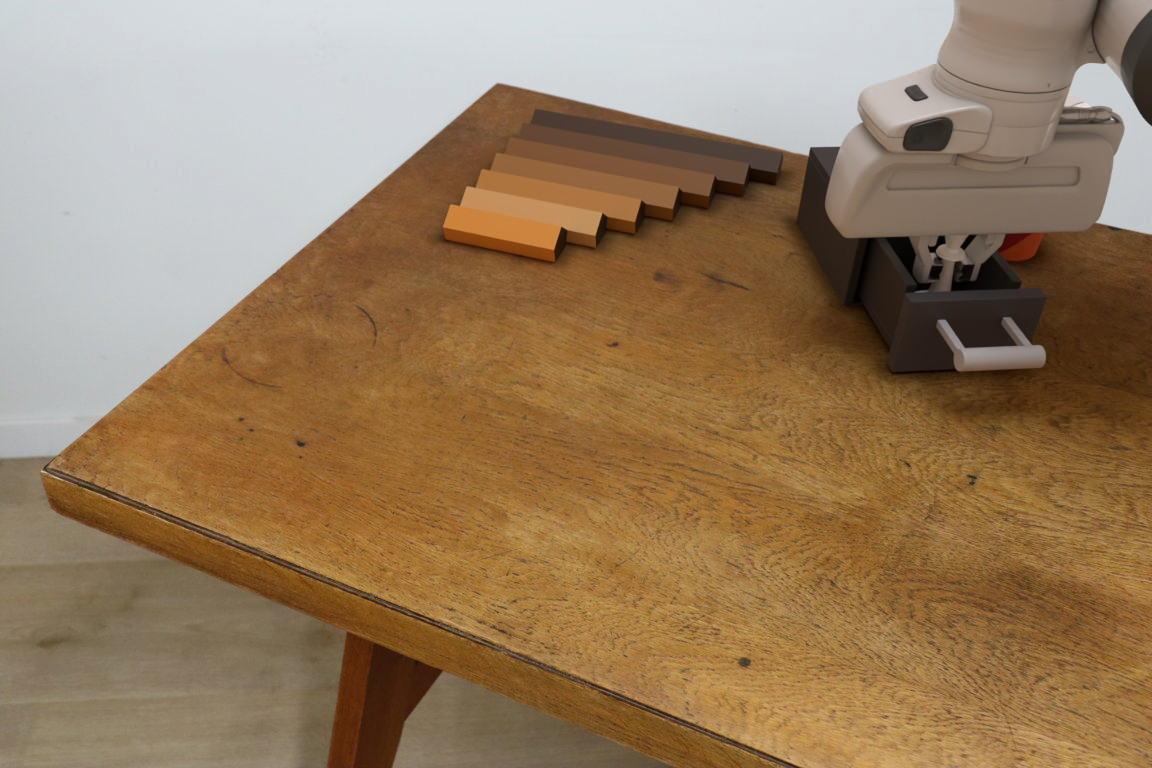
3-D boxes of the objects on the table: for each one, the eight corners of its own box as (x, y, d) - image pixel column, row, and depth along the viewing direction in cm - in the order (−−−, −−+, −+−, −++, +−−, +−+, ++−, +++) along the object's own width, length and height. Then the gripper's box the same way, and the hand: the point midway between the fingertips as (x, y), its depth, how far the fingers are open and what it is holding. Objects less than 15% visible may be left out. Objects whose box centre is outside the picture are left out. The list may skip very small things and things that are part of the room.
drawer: (1055, 410, 80) (1083, 339, 76) (918, 417, 78) (939, 345, 75) (957, 277, 94) (976, 211, 90) (839, 282, 92) (853, 215, 88)
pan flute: (780, 176, 109) (540, 133, 114) (785, 144, 107) (541, 102, 112) (727, 308, 90) (443, 248, 96) (733, 272, 88) (442, 213, 93)
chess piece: (900, 326, 85) (931, 211, 79) (901, 293, 89) (930, 181, 83) (966, 337, 85) (1002, 222, 78) (964, 303, 88) (998, 190, 82)
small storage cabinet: (976, 307, 92) (1003, 221, 87) (841, 312, 90) (861, 225, 85) (915, 225, 102) (937, 144, 97) (794, 228, 101) (810, 146, 96)
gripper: (1109, 88, 80) (1051, 252, 89) (838, 91, 78) (804, 260, 86) (1156, 125, 75) (1089, 296, 84) (868, 129, 73) (829, 305, 81)
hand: (943, 278), depth 85 cm, fingers closed
